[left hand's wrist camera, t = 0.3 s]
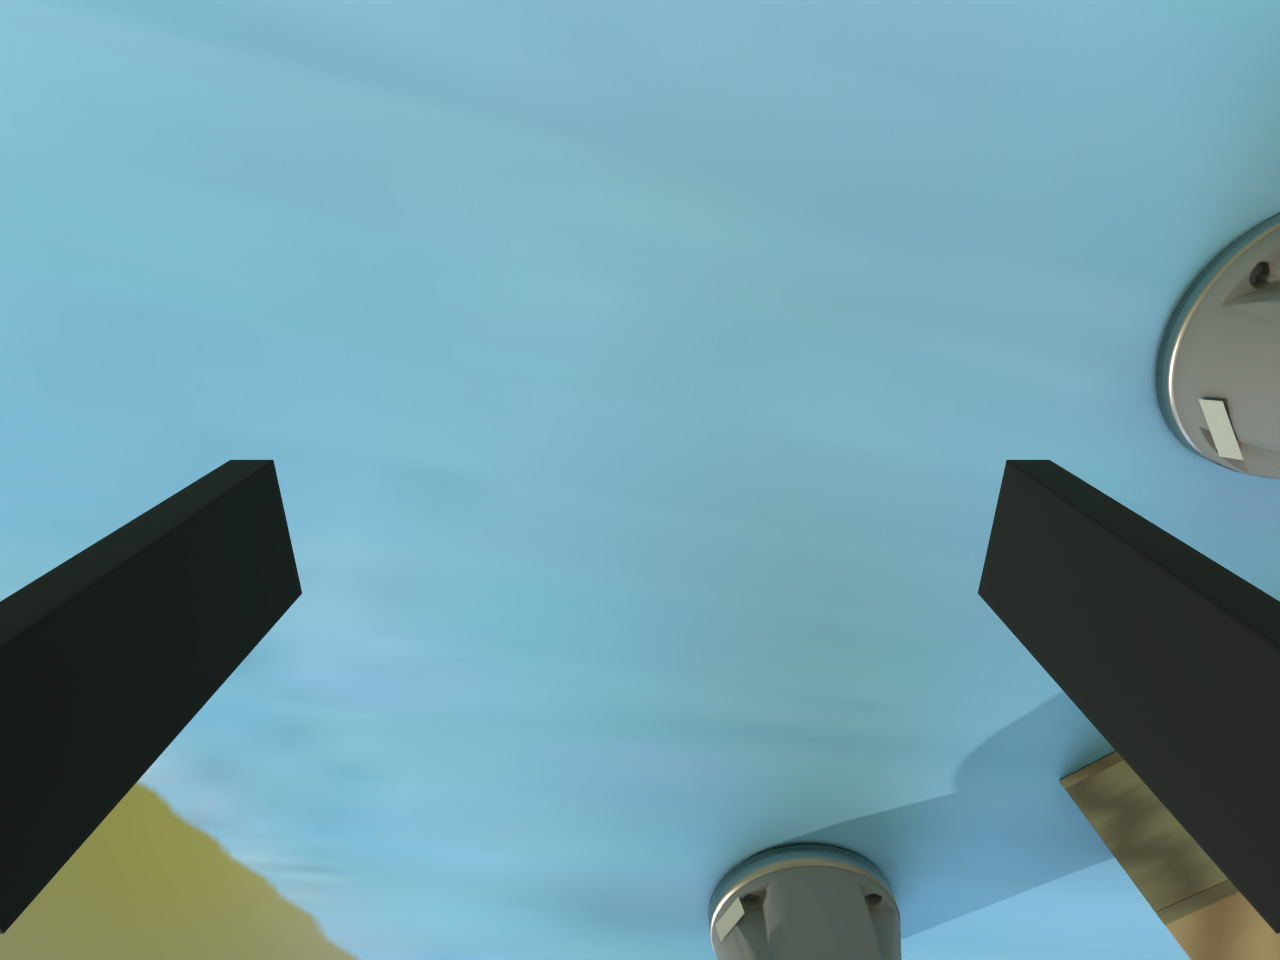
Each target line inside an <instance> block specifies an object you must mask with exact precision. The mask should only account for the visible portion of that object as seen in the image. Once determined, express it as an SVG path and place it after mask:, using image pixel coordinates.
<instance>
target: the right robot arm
mask: <svg viewBox="0 0 1280 960" xmlns="http://www.w3.org/2000/svg"><path fill="white" fill-rule="evenodd" d="M1156 389H1157V397H1158V401H1159V405H1160V409H1161V412H1162V414H1163V417H1164V419H1165V421H1166V423H1167V425H1168V427H1169V429H1170V430H1171V431H1172V433H1173V434H1174V435H1175V437H1176V438H1177V439H1178V440H1179V441H1180V442H1181V443H1182V444H1183V445H1184V446H1185V447H1187V448H1188V449H1189V450H1190V451H1192V452H1194V453H1195V454H1197V455H1198V456H1200V457H1202V458H1205V459H1207V460H1209V461H1211V462H1213V463H1216V464H1218V465H1220V466H1222V467H1225V468H1227V469H1230V470H1233V471H1236V472H1241V473H1245V474H1249V475H1253V476H1258V477H1264V478H1273V479H1280V214H1279V215H1277V216H1275V217H1273V218H1270V219H1268V220H1266V221H1265V222H1263V223H1261V224H1259V225H1258V226H1256V227H1254V228H1252V229H1251V230H1249V231H1248V232H1247V233H1245V234H1244V235H1242V236H1241V237H1239V238H1238V239H1237V240H1235V241H1234V242H1233V243H1231V244H1230V245H1229V246H1228V247H1226V248H1225V249H1224V250H1223V251H1222V252H1221V253H1220V254H1219V255H1218V256H1216V257H1215V258H1214V259H1213V260H1212V261H1211V262H1210V263H1209V264H1208V266H1207V267H1206V268H1205V269H1204V270H1203V271H1202V272H1201V273H1200V274H1199V276H1198V277H1197V278H1196V279H1195V281H1194V282H1193V283H1192V284H1191V286H1190V287H1189V289H1188V290H1187V291H1186V293H1185V294H1184V296H1183V297H1182V299H1181V301H1180V302H1179V304H1178V306H1177V307H1176V309H1175V311H1174V313H1173V315H1172V317H1171V319H1170V321H1169V324H1168V326H1167V329H1166V331H1165V334H1164V336H1163V340H1162V343H1161V347H1160V351H1159V356H1158V361H1157V370H1156Z"/></svg>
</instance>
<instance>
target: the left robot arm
mask: <svg viewBox="0 0 1280 960" xmlns="http://www.w3.org/2000/svg"><path fill="white" fill-rule="evenodd" d="M301 594H302V591H301V586H300V582H299V577H298V572H297V568H296V563H295V558H294V554H293V549H292V544H291V540H290V535H289V531H288V526H287V521H286V517H285V512H284V507H283V503H282V498H281V493H280V489H279V484H278V480H277V475H276V470H275V466H274V461H273V460H230V461H228V462H226V463H225V464H223V465H222V466H220V467H218V468H217V469H215V470H213V471H212V472H210V473H209V474H207V475H205V476H204V477H202V478H200V479H199V480H197V481H196V482H194V483H192V484H191V485H189V486H187V487H186V488H184V489H183V490H181V491H179V492H178V493H176V494H174V495H173V496H171V497H170V498H168V499H166V500H165V501H163V502H161V503H160V504H158V505H157V506H155V507H153V508H152V509H150V510H148V511H147V512H145V513H144V514H142V515H140V516H139V517H137V518H135V519H134V520H132V521H131V522H129V523H127V524H126V525H124V526H122V527H121V528H119V529H118V530H116V531H114V532H113V533H111V534H109V535H108V536H106V537H105V538H103V539H101V540H100V541H98V542H96V543H95V544H93V545H92V546H90V547H88V548H87V549H85V550H83V551H82V552H80V553H79V554H77V555H75V556H74V557H72V558H70V559H69V560H67V561H66V562H64V563H62V564H61V565H59V566H58V567H56V568H54V569H53V570H51V571H49V572H48V573H46V574H45V575H43V576H41V577H40V578H38V579H36V580H35V581H33V582H32V583H30V584H28V585H27V586H25V587H23V588H22V589H20V590H19V591H17V592H15V593H14V594H12V595H10V596H9V597H7V598H6V599H4V600H2V601H1V602H0V934H3V933H5V931H6V930H7V929H8V928H9V927H10V926H11V925H12V923H13V922H14V921H15V920H16V919H17V918H18V917H19V915H20V914H21V913H22V912H23V911H24V910H25V909H26V907H27V906H28V905H29V904H30V903H31V902H32V901H33V900H34V898H35V897H36V896H37V895H38V894H39V893H40V891H41V890H42V889H43V888H44V887H45V886H46V885H47V884H48V882H49V881H50V880H51V879H52V878H53V877H54V876H55V874H56V873H57V872H58V871H59V870H60V869H61V868H62V866H63V865H64V864H65V863H66V862H67V861H68V860H69V858H70V857H71V856H72V855H73V854H74V853H75V852H76V850H77V849H78V848H79V847H80V846H81V845H82V844H83V842H84V841H85V840H86V839H87V838H88V837H89V836H90V835H91V833H92V832H93V831H94V830H95V829H96V828H97V827H98V825H99V824H100V823H101V822H102V821H103V820H104V819H105V817H106V816H107V815H108V814H109V813H110V812H111V811H112V809H113V808H114V807H115V806H116V805H117V804H118V803H119V801H120V800H121V799H122V798H123V797H124V796H125V795H126V793H127V792H128V791H129V790H130V789H131V788H132V787H133V785H134V784H135V783H136V782H137V781H138V780H139V779H140V777H141V776H142V775H143V774H144V773H145V772H146V771H147V770H148V768H149V767H150V766H151V765H152V764H153V763H154V762H155V760H156V759H157V758H158V757H159V756H160V755H161V754H162V752H163V751H164V750H165V749H166V748H167V747H168V746H169V744H170V743H171V742H172V741H173V740H174V739H175V738H176V736H177V735H178V734H179V733H180V732H181V731H182V730H183V728H184V727H185V726H186V725H187V724H188V723H189V722H190V720H191V719H192V718H193V717H194V716H195V715H196V714H197V712H198V711H199V710H200V709H201V708H202V707H203V706H204V704H205V703H206V702H207V701H208V700H209V699H210V698H211V697H212V695H213V694H214V693H215V692H216V691H217V690H218V689H219V687H220V686H221V685H222V684H223V683H224V682H225V681H226V679H227V678H228V677H229V676H230V675H231V674H232V673H233V671H234V670H235V669H236V668H237V667H238V666H239V665H240V663H241V662H242V661H243V660H244V659H245V658H246V657H247V655H248V654H249V653H250V652H251V651H252V650H253V649H254V647H255V646H256V645H257V644H258V643H259V642H260V641H261V639H262V638H263V637H264V636H265V635H266V634H267V633H268V632H269V630H270V629H271V628H272V627H273V626H274V625H275V624H276V622H277V621H278V620H279V619H280V618H281V617H282V616H283V614H284V613H285V612H286V611H287V610H288V609H289V608H290V606H291V605H292V604H293V603H294V602H295V601H296V600H297V598H298V597H299V596H300V595H301ZM978 594H979V595H980V596H981V597H982V598H983V600H984V601H985V602H986V603H987V604H988V605H989V606H990V608H991V609H992V610H993V611H994V612H995V613H996V614H997V616H998V617H999V618H1000V619H1001V620H1002V621H1003V622H1004V624H1005V625H1006V626H1007V627H1008V628H1009V629H1010V630H1011V632H1012V633H1013V634H1014V635H1015V636H1016V637H1017V638H1018V639H1019V641H1020V642H1021V643H1022V644H1023V645H1024V646H1025V647H1026V649H1027V650H1028V651H1029V652H1030V653H1031V654H1032V655H1033V657H1034V658H1035V659H1036V660H1037V661H1038V662H1039V663H1040V665H1041V666H1042V667H1043V668H1044V669H1045V670H1046V671H1047V673H1048V674H1049V675H1050V676H1051V677H1052V678H1053V679H1054V681H1055V682H1056V683H1057V684H1058V685H1059V686H1060V687H1061V689H1062V690H1063V691H1064V692H1065V693H1066V694H1067V695H1068V697H1069V698H1070V699H1071V700H1072V701H1073V702H1074V703H1075V704H1076V706H1077V707H1078V708H1079V709H1080V710H1081V711H1082V712H1083V714H1084V715H1085V716H1086V717H1087V718H1088V719H1089V720H1090V722H1091V723H1092V724H1093V725H1094V726H1095V727H1096V728H1097V730H1098V731H1099V732H1100V733H1101V734H1102V735H1103V736H1104V738H1105V739H1106V740H1107V741H1108V742H1109V743H1110V744H1111V746H1112V747H1113V748H1114V749H1115V750H1116V751H1117V752H1118V754H1119V755H1120V756H1121V757H1122V758H1123V759H1124V760H1125V762H1126V763H1127V764H1128V765H1129V766H1130V767H1131V768H1132V770H1133V771H1134V772H1135V773H1136V774H1137V775H1138V776H1139V777H1140V779H1141V780H1142V781H1143V782H1144V783H1145V784H1146V785H1147V787H1148V788H1149V789H1150V790H1151V791H1152V792H1153V793H1154V795H1155V796H1156V797H1157V798H1158V799H1159V800H1160V801H1161V803H1162V804H1163V805H1164V806H1165V807H1166V808H1167V809H1168V811H1169V812H1170V813H1171V814H1172V815H1173V816H1174V817H1175V819H1176V820H1177V821H1178V822H1179V823H1180V824H1181V825H1182V827H1183V828H1184V829H1185V830H1186V831H1187V832H1188V833H1189V835H1190V836H1191V837H1192V838H1193V839H1194V840H1195V841H1196V843H1197V844H1198V845H1199V846H1200V847H1201V848H1202V849H1203V850H1204V852H1205V853H1206V854H1207V855H1208V856H1209V857H1210V858H1211V860H1212V861H1213V862H1214V863H1215V864H1216V865H1217V866H1218V868H1219V869H1220V870H1221V871H1222V872H1223V873H1224V874H1225V876H1226V877H1227V878H1228V879H1229V880H1230V881H1231V882H1232V884H1233V885H1234V886H1235V887H1236V888H1237V889H1238V890H1239V892H1240V893H1241V894H1242V895H1243V896H1244V897H1245V898H1246V900H1247V901H1248V902H1249V903H1250V904H1251V905H1252V906H1253V908H1254V909H1255V910H1256V911H1257V912H1258V913H1259V914H1260V916H1261V917H1262V918H1263V919H1264V920H1265V921H1266V922H1267V923H1268V925H1269V926H1270V927H1271V928H1272V929H1273V930H1274V931H1275V933H1276V934H1280V602H1279V601H1278V600H1276V599H1274V598H1273V597H1271V596H1270V595H1268V594H1266V593H1265V592H1263V591H1261V590H1260V589H1258V588H1257V587H1255V586H1253V585H1252V584H1250V583H1248V582H1247V581H1245V580H1244V579H1242V578H1240V577H1239V576H1237V575H1235V574H1234V573H1232V572H1231V571H1229V570H1227V569H1226V568H1224V567H1222V566H1221V565H1219V564H1218V563H1216V562H1214V561H1213V560H1211V559H1210V558H1208V557H1206V556H1205V555H1203V554H1201V553H1200V552H1198V551H1197V550H1195V549H1193V548H1192V547H1190V546H1188V545H1187V544H1185V543H1184V542H1182V541H1180V540H1179V539H1177V538H1175V537H1174V536H1172V535H1171V534H1169V533H1167V532H1166V531H1164V530H1162V529H1161V528H1159V527H1158V526H1156V525H1154V524H1153V523H1151V522H1149V521H1148V520H1146V519H1145V518H1143V517H1141V516H1140V515H1138V514H1136V513H1135V512H1133V511H1132V510H1130V509H1128V508H1127V507H1125V506H1123V505H1122V504H1120V503H1119V502H1117V501H1115V500H1114V499H1112V498H1110V497H1109V496H1107V495H1106V494H1104V493H1102V492H1101V491H1099V490H1097V489H1096V488H1094V487H1093V486H1091V485H1089V484H1088V483H1086V482H1084V481H1083V480H1081V479H1080V478H1078V477H1076V476H1075V475H1073V474H1071V473H1070V472H1068V471H1067V470H1065V469H1063V468H1062V467H1060V466H1058V465H1057V464H1055V463H1054V462H1052V461H1050V460H1007V461H1006V466H1005V470H1004V475H1003V479H1002V484H1001V489H1000V493H999V498H998V503H997V507H996V512H995V517H994V521H993V526H992V530H991V535H990V540H989V544H988V549H987V554H986V558H985V563H984V568H983V572H982V577H981V581H980V586H979V591H978ZM709 924H710V935H711V942H712V947H713V950H714V952H715V954H716V956H717V959H718V960H901V934H900V915H899V911H898V908H897V905H896V902H895V899H894V897H893V894H892V891H891V889H890V886H889V884H888V882H887V880H886V878H885V877H884V875H883V874H882V873H881V872H880V870H879V869H878V868H877V867H875V866H874V865H873V864H872V863H870V862H869V861H868V860H866V859H864V858H863V857H861V856H859V855H857V854H855V853H853V852H850V851H847V850H844V849H840V848H837V847H831V846H825V845H811V844H806V845H792V846H786V847H780V848H776V849H772V850H769V851H766V852H763V853H760V854H758V855H756V856H753V857H751V858H749V859H748V860H746V861H744V862H742V863H741V864H739V865H738V866H736V867H735V868H734V869H732V870H731V871H730V872H729V873H728V874H727V875H726V876H725V877H724V878H723V879H722V880H721V882H720V883H719V884H718V886H717V887H716V889H715V891H714V893H713V895H712V898H711V901H710V905H709Z"/></svg>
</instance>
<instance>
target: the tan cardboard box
mask: <svg viewBox="0 0 1280 960" xmlns="http://www.w3.org/2000/svg"><path fill="white" fill-rule="evenodd" d="M1060 783H1061V784H1062V785H1063V787H1064V788H1065V790H1066V791H1067V792H1068V794H1069V795H1070V796H1071V798H1072V799H1073V800H1074V802H1075V803H1076V805H1077V806H1078V807H1079V809H1080V810H1081V811H1082V813H1083V814H1084V815H1085V817H1086V818H1087V820H1088V821H1089V822H1090V824H1091V825H1092V826H1093V828H1094V829H1095V831H1096V832H1097V833H1098V835H1099V836H1100V837H1101V839H1102V840H1103V841H1104V843H1105V844H1106V846H1107V847H1108V848H1109V850H1110V851H1111V852H1112V854H1113V855H1114V856H1115V858H1116V859H1117V861H1118V862H1119V863H1120V865H1121V866H1122V867H1123V869H1124V870H1125V872H1126V873H1127V874H1128V876H1129V877H1130V878H1131V880H1132V881H1133V882H1134V884H1135V885H1136V887H1137V888H1138V889H1139V891H1140V892H1141V893H1142V895H1143V896H1144V897H1145V899H1146V900H1147V902H1148V903H1149V904H1150V906H1151V907H1152V908H1153V910H1154V911H1155V912H1156V914H1157V915H1158V917H1159V918H1160V919H1161V921H1162V922H1163V923H1164V925H1165V926H1166V927H1167V929H1168V930H1169V931H1170V933H1171V934H1172V935H1173V937H1174V938H1175V939H1176V941H1177V942H1178V944H1179V945H1180V946H1181V948H1182V949H1183V950H1184V952H1185V953H1186V954H1187V956H1188V957H1189V958H1190V960H1280V934H1276V933H1275V931H1274V930H1273V929H1272V928H1271V927H1270V926H1269V925H1268V923H1267V922H1266V921H1265V920H1264V919H1263V918H1262V917H1261V916H1260V914H1259V913H1258V912H1257V911H1256V910H1255V909H1254V908H1253V906H1252V905H1251V904H1250V903H1249V902H1248V901H1247V900H1246V898H1245V897H1244V896H1243V895H1242V894H1241V893H1240V892H1239V890H1238V889H1237V888H1236V887H1235V886H1234V885H1233V884H1232V882H1231V881H1230V880H1229V879H1228V878H1227V877H1226V876H1225V874H1224V873H1223V872H1222V871H1221V870H1220V869H1219V868H1218V866H1217V865H1216V864H1215V863H1214V862H1213V861H1212V860H1211V858H1210V857H1209V856H1208V855H1207V854H1206V853H1205V852H1204V850H1203V849H1202V848H1201V847H1200V846H1199V845H1198V844H1197V843H1196V841H1195V840H1194V839H1193V838H1192V837H1191V836H1190V835H1189V833H1188V832H1187V831H1186V830H1185V829H1184V828H1183V827H1182V825H1181V824H1180V823H1179V822H1178V821H1177V820H1176V819H1175V817H1174V816H1173V815H1172V814H1171V813H1170V812H1169V811H1168V809H1167V808H1166V807H1165V806H1164V805H1163V804H1162V803H1161V801H1160V800H1159V799H1158V798H1157V797H1156V796H1155V795H1154V793H1153V792H1152V791H1151V790H1150V789H1149V788H1148V787H1147V785H1146V784H1145V783H1144V782H1143V781H1142V780H1141V779H1140V777H1139V776H1138V775H1137V774H1136V773H1135V772H1134V771H1133V770H1132V768H1131V767H1130V766H1129V765H1128V764H1127V763H1126V762H1125V760H1124V759H1123V758H1122V757H1121V756H1120V755H1119V754H1118V752H1117V751H1116V752H1114V753H1112V754H1110V755H1108V756H1106V757H1104V758H1102V759H1100V760H1098V761H1096V762H1094V763H1092V764H1090V765H1089V766H1087V767H1085V768H1083V769H1081V770H1079V771H1077V772H1075V773H1073V774H1071V775H1069V776H1067V777H1065V778H1063V779H1061V780H1060Z"/></svg>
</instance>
